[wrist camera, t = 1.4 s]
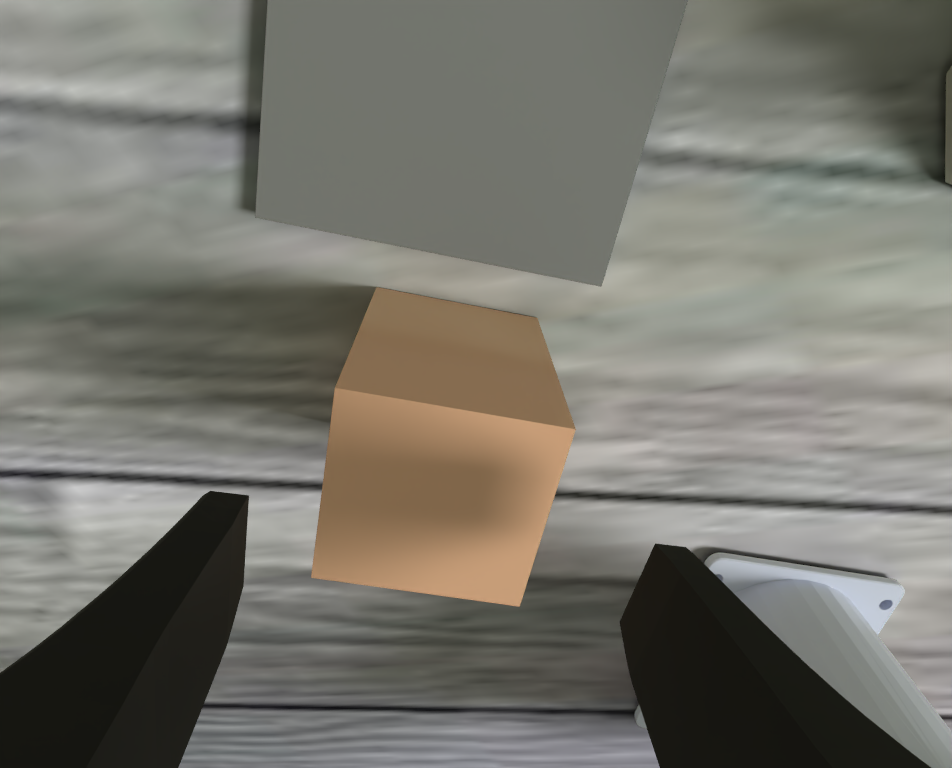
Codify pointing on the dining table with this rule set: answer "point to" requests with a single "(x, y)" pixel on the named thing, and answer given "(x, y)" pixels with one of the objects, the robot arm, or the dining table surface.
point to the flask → (948, 128)
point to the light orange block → (441, 451)
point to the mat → (463, 123)
